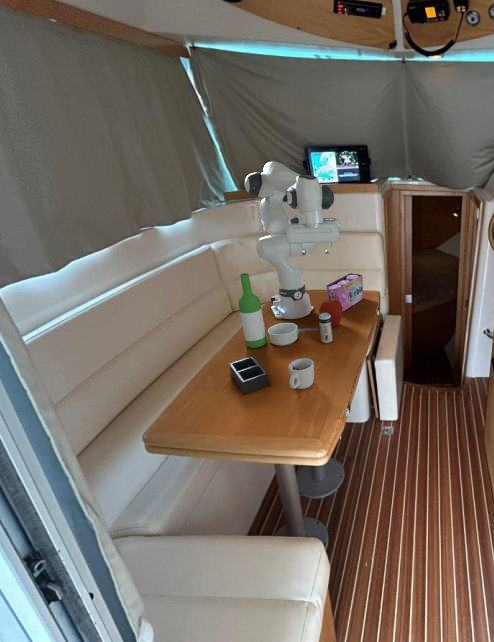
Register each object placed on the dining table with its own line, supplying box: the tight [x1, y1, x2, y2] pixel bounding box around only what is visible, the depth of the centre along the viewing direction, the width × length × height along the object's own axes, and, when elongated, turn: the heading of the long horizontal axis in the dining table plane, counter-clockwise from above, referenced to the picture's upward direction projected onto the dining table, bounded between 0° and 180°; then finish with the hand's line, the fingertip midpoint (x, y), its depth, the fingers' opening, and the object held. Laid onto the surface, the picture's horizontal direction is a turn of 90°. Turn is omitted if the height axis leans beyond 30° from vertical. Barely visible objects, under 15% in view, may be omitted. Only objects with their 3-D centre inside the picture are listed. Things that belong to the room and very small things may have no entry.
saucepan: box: [267, 322, 319, 346], centre depth 149 cm, size 12×20×6 cm, turn 92°
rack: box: [228, 356, 270, 395], centre depth 122 cm, size 15×8×5 cm, turn 43°
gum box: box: [325, 272, 365, 313], centre depth 185 cm, size 24×8×14 cm, turn 159°
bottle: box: [237, 272, 268, 349], centre depth 141 cm, size 8×8×30 cm
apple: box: [318, 298, 343, 328], centre depth 162 cm, size 10×10×14 cm
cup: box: [287, 357, 315, 390], centre depth 118 cm, size 11×8×8 cm
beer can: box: [318, 313, 334, 344], centre depth 148 cm, size 5×5×12 cm
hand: (315, 253), depth 143 cm, fingers open, 8 cm apart
